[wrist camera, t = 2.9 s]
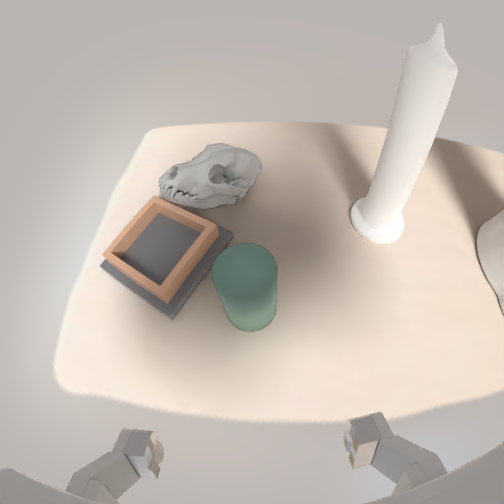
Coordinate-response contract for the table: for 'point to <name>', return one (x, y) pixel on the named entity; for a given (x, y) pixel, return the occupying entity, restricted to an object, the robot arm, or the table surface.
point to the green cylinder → (246, 285)
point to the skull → (211, 177)
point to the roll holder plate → (164, 254)
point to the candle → (407, 138)
